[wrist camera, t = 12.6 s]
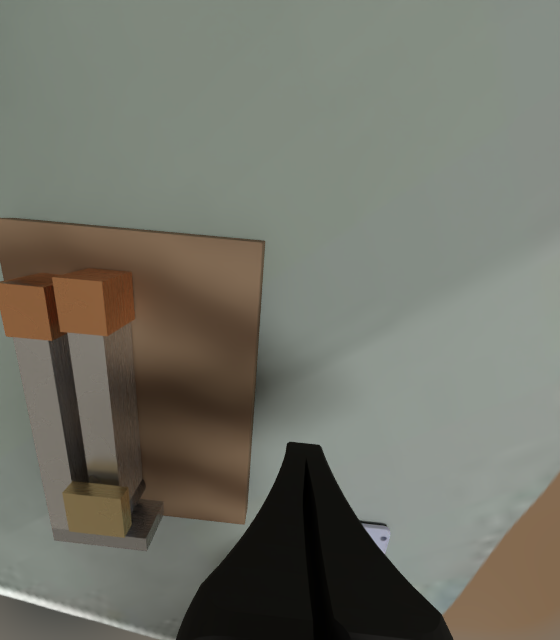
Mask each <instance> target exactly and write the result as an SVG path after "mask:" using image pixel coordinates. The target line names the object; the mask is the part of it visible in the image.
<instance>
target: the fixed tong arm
mask: <svg viewBox="0 0 560 640" xmlns="http://www.w3.org/2000/svg"><path fill="white" fill-rule="evenodd" d="M54 276H59V274H49V273H38V274H33V275H29V276H24V277H19V278H15V279H10V280H5V281H1V282H0V311H1V315H2V320H3V325H4V330H5V334H6V336H7V337H13V340H14V344H15V349H16V354H17V359H18V364H19V369H20V374H21V379H22V384H23V389H24V393H25V398H26V403H27V408H28V413H29V418H30V423H31V428H32V433H33V438H34V442H35V447H36V452H37V457H38V462H39V467H40V472H41V477H42V482H43V487H44V491H45V496H46V501H47V506H48V511H49V516H50V521H51V526H52V531H53V536H54V540H56V541H65V542H73V543H82V544H91V545H99V546H108V547H117V548H125V549H134V550H143V551H147V550H148V547H149V545H150V543H151V541H152V539H153V536H154V534H155V532H156V530H157V527H158V525H159V523H160V521H161V519H162V516H163V514H164V501H156V500H147V499H140V500H139V502H138V504H137V505H136V507H135V509H134V511H133V513H132V514H131V521H132V525H131V527H130V529H129V531H128V533H127V534H126V536H125V538H122V537H113V536H104V535H96V534H87V533H78V532H70V531H69V528H68V522H67V517H66V511H65V506H64V500H63V495H62V493H63V491H64V490H65V489H66V488H67V487H68V486H69V484H70V483H71V482H72V481H78V482H87V483H89V477H88V470H87V463H86V457H85V450H84V443H83V436H82V429H81V423H80V416H79V409H78V402H77V395H76V389H75V382H74V375H73V368H72V361H71V355H70V348H69V341H68V334H67V332H60V326H59V320H58V313H57V307H56V300H55V294H54V287H53V281H52V277H54Z"/></svg>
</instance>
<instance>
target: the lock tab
mask: <svg viewBox="0 0 560 640" xmlns="http://www.w3.org/2000/svg"><path fill="white" fill-rule="evenodd" d="M62 495H63V500H64V506H65V511H66V517H67V522H68V528H69V531H70V532H78V533H87V534H96V535H104V536H113V537H122V538H125V536H126V534H127V533H128V531H129V529H130V527H131V525H132V521H131V510H130V499H129V488H128V487H123V486H114V485H105V484H96V483H87V482H78V481H72V482H71V483H70V484H69V486H68V487H67V488H66V489H65V490H64V491H63V493H62Z"/></svg>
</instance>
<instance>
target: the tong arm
mask: <svg viewBox="0 0 560 640" xmlns="http://www.w3.org/2000/svg"><path fill="white" fill-rule="evenodd" d="M52 281H53V287H54V294H55V300H56V307H57V313H58V320H59V326H60V332H67V334H68V341H69V348H70V355H71V361H72V368H73V375H74V382H75V389H76V395H77V402H78V409H79V416H80V423H81V429H82V436H83V443H84V450H85V457H86V463H87V470H88V477H89V483H96V484H105V485H114V486H123V487H128V488H129V499H130V510H131V514H132V513H133V511H134V509H135V507H136V505H137V504H138V502H139V500H140V498H141V496H142V495H143V493H144V491H145V489H146V484H145V482H144V480H143V476H142V463H141V450H140V437H139V424H138V411H137V398H136V385H135V372H134V359H133V346H132V333H131V321H133V320H134V319H135V311H134V297H133V283H132V272H127V271H116V270H105V269H94V268H88V269H84V270H79V271H75V272H71V273H67V274H63V275H59V276H54V277H52Z"/></svg>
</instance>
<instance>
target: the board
mask: <svg viewBox="0 0 560 640" xmlns="http://www.w3.org/2000/svg"><path fill="white" fill-rule="evenodd" d="M264 252H265V241H261V240H250V239H239V238H228V237H217V236H206V235H195V234H184V233H173V232H162V231H151V230H140V229H129V228H118V227H107V226H96V225H85V224H74V223H63V222H52V221H41V220H30V219H19V218H0V263H1V268H2V273H3V278H4V281H5V280H10V279H15V278H19V277H24V276H29V275H33V274H38V273H49V274H59V275H63V274H67V273H71V272H75V271H79V270H84V269H88V268H94V269H105V270H116V271H127V272H132V283H133V297H134V311H135V319H134V320H133V321H131V333H132V346H133V359H134V372H135V385H136V398H137V411H138V424H139V437H140V450H141V463H142V476H143V480H144V482H145V484H146V489H145V491H144V493H143V495H142V496H141V498H140V499H147V500H156V501H164V514H163V515H164V516H173V517H182V518H191V519H199V520H208V521H217V522H226V523H235V524H245V519H246V513H247V506H248V491H249V476H250V461H251V446H252V431H253V416H254V401H255V386H256V371H257V356H258V341H259V326H260V312H261V297H262V282H263V267H264Z"/></svg>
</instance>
